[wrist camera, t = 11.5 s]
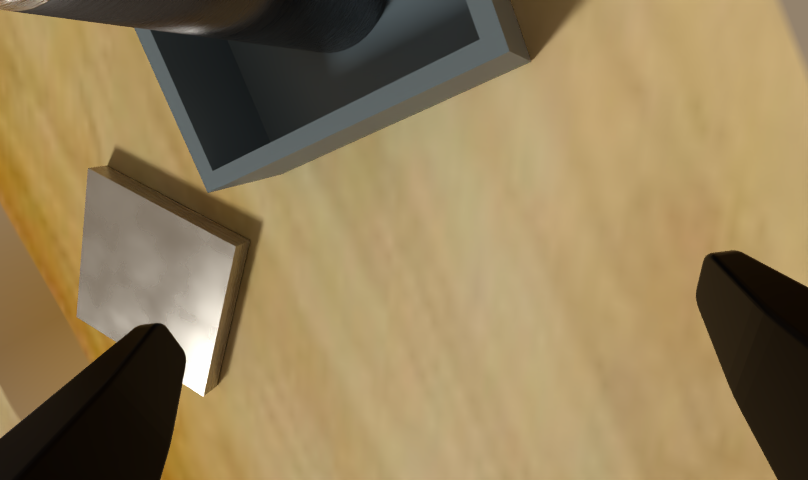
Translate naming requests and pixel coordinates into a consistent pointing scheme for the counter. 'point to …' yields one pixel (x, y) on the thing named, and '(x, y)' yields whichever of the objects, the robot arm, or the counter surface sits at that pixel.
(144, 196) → the plate
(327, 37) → the battery
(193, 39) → the bin
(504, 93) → the counter surface
